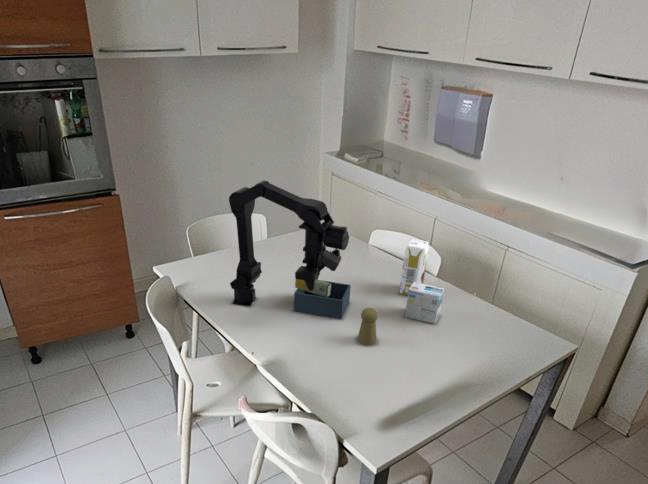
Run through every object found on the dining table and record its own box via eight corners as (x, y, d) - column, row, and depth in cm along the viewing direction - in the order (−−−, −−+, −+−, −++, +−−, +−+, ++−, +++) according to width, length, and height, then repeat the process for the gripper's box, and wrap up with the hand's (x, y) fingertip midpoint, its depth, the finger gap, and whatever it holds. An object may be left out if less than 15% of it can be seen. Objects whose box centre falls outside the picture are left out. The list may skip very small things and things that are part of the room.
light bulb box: (439, 315, 180) (445, 287, 174) (435, 324, 175) (440, 296, 169) (409, 308, 183) (413, 280, 178) (404, 317, 178) (408, 288, 172)
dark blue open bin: (293, 311, 180) (294, 292, 176) (304, 295, 190) (304, 277, 186) (341, 319, 176) (342, 301, 172) (349, 302, 186) (350, 284, 182)
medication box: (331, 294, 169) (332, 283, 167) (327, 297, 167) (328, 286, 165) (298, 284, 173) (299, 273, 171) (294, 287, 171) (294, 276, 169)
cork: (364, 347, 162) (367, 317, 156) (353, 338, 166) (356, 308, 160) (380, 343, 164) (383, 312, 158) (369, 333, 169) (372, 303, 163)
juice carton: (397, 294, 192) (404, 246, 182) (403, 284, 199) (409, 237, 188) (418, 298, 190) (426, 249, 179) (422, 288, 196) (430, 240, 186)
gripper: (331, 259, 152) (328, 306, 160) (347, 236, 167) (343, 280, 175) (295, 253, 155) (294, 299, 163) (313, 231, 170) (311, 274, 178)
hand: (312, 288), depth 170 cm, fingers closed on medication box, 3 cm apart
